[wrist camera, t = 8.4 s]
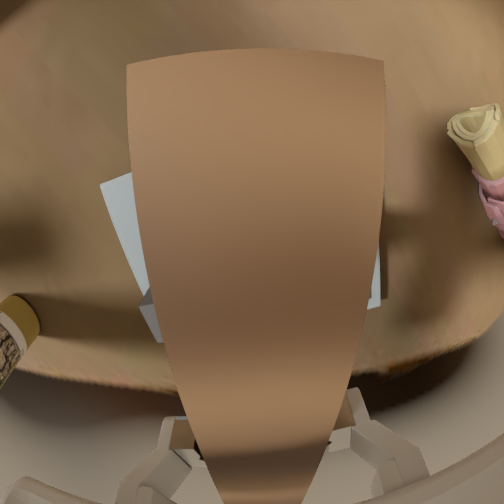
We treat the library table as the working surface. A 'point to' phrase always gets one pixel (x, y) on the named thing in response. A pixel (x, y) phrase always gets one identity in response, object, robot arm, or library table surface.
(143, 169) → the light brown wooden bar
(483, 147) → the scroll
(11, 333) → the bark cylinder
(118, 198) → the ridge stand
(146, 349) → the library table surface
